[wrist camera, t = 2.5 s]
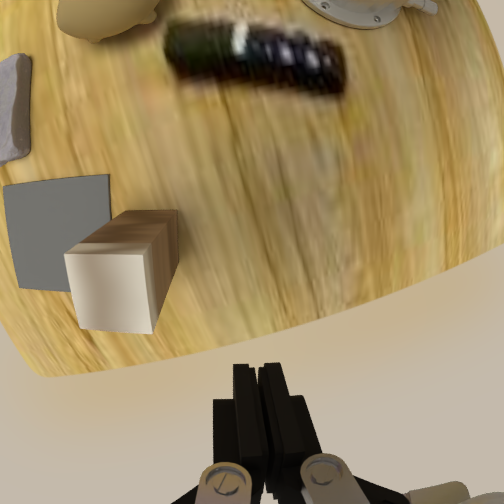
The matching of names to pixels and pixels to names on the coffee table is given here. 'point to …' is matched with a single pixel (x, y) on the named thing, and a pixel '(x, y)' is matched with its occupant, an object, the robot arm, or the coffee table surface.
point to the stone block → (14, 107)
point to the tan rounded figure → (103, 17)
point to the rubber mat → (52, 225)
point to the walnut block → (124, 271)
